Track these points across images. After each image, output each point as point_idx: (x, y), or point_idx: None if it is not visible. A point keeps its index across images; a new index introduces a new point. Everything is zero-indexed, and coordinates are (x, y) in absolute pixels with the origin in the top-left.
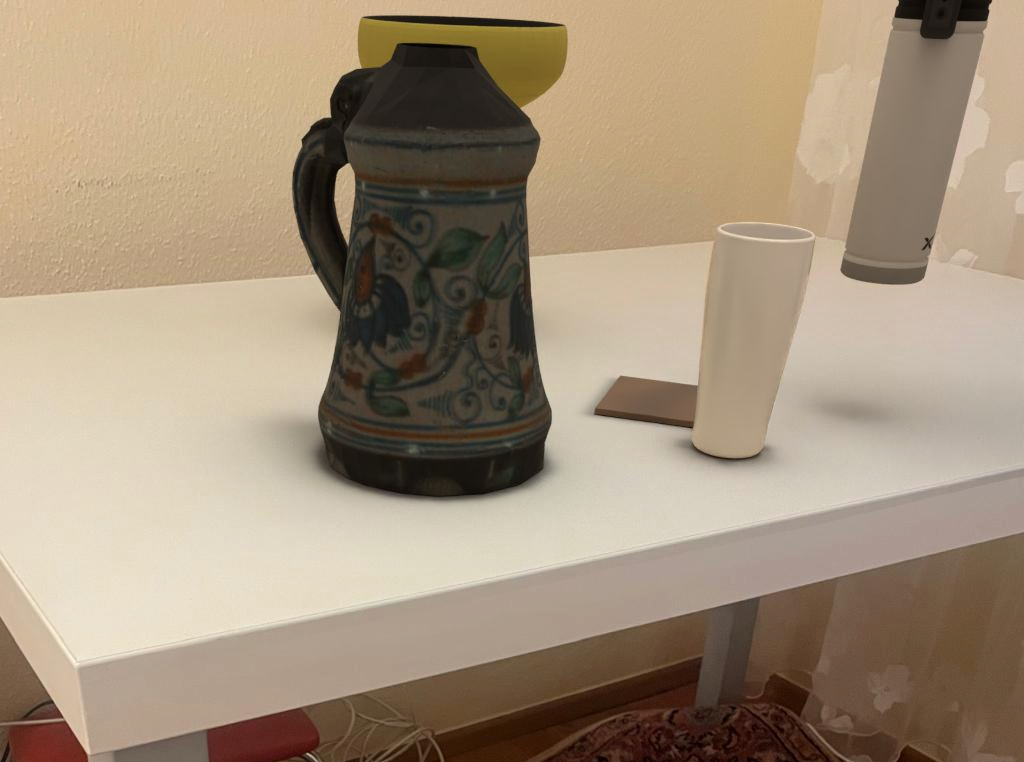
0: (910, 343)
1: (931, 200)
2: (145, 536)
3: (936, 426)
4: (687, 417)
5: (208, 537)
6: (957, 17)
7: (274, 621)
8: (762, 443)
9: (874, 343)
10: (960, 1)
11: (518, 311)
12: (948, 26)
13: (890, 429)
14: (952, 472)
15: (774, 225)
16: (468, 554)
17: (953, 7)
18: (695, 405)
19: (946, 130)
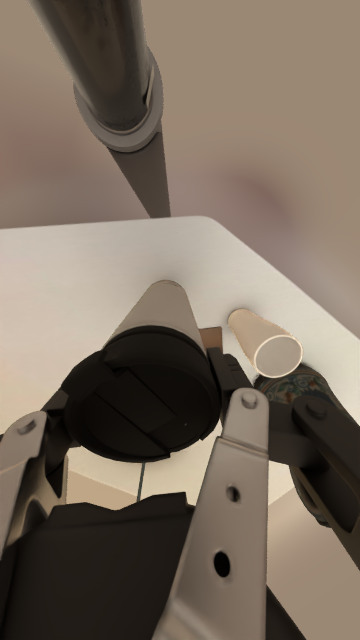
0: (32, 282)
1: (180, 292)
2: (357, 414)
3: (169, 252)
4: (218, 339)
5: (354, 404)
6: (222, 355)
7: None
8: (245, 309)
9: (47, 298)
10: (227, 365)
11: (330, 403)
12: (231, 355)
13: (184, 270)
14: (227, 238)
15: (255, 358)
16: (351, 355)
17: (240, 366)
18: (203, 340)
19: (184, 304)
